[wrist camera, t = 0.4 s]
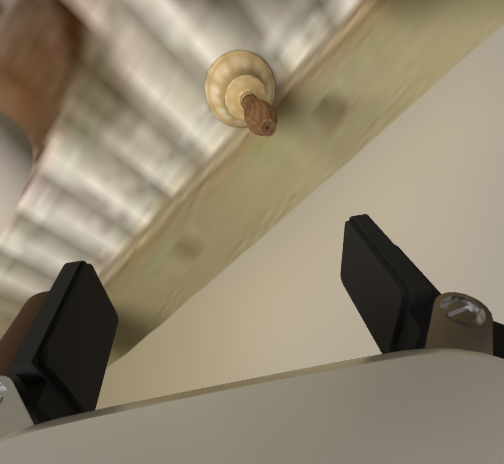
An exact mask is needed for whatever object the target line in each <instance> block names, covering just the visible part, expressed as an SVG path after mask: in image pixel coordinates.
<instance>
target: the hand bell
mask: <svg viewBox="0 0 504 464" xmlns="http://www.w3.org/2000/svg"><path fill="white" fill-rule="evenodd" d="M274 95H275V82H274V77H273V74H272V72H271V69H270V68H269V66H268V65H267V63H266V62H265V61H264V60H263V59H262V58H261V57H259V56H258V55H256V54H255V53H252V52H250V51H245V50H234V51H230V52H227V53H225V54H223V55H222V56H220V57H219V58H218V59H217V60H216V61H215V62H214V63H213V64H212V66H211V67H210V69H209V71H208V73H207V76H206V80H205V98H206V101H207V104H208V106H209V108H210V110H211V112H212V113H213V114H214V116H215V117H216V118H218V119H219V120H220V121H221V122H223V123H225V124H227V125H229V126H233V127H247V126H248V128H249V129H250V130H251V131H252V132H253V133H255V134H257V135H261V136H271V135H273V134H274V132H275V130H276V124H277V115H276V112H275V110H274V108H273V107H272V106H271V105H272V103H273V100H274Z"/></svg>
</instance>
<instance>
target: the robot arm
mask: <svg viewBox="0 0 504 464" xmlns="http://www.w3.org/2000/svg"><path fill="white" fill-rule="evenodd" d="M341 280H342V283H343V285H344V287H345V289H346V290H347V292H348V294H349V296H350V297H351V299H352V301H353V303H354V304H355V306H356V308H357V310H358V312H359V313H360V315H361V317H362V319H363V320H364V322H365V324H366V326H367V328H368V329H369V331H370V333H371V335H372V336H373V338H374V340H375V342H376V343H377V345H378V347H379V349H380V351H381V352H382V354H380V355H375V356H368V357H363V358H357V359H351V360H346V361H341V362H335V363H330V364H325V365H320V366H314V367H310V368H304V369H299V370H293V371H289V372H284V373H278V374H273V375H268V376H263V377H258V378H252V379H247V380H242V381H237V382H232V383H227V384H222V385H217V386H212V387H207V388H201V389H197V390H191V391H187V392H182V393H176V394H172V395H167V396H162V397H157V398H152V399H147V400H143V401H137V402H132V403H127V404H122V405H117V406H112V407H108V408H103V409H98V410H95V408H96V405H97V401H98V397H99V393H100V389H101V386H102V382H103V378H104V374H105V370H106V367H107V363H108V359H109V355H110V351H111V347H112V344H113V340H114V336H115V332H116V328H117V325H118V316H117V313H116V311H115V309H114V307H113V305H112V303H111V301H110V299H109V297H108V295H107V293H106V291H105V290H104V288H103V286H102V284H101V282H100V280H99V278H98V276H97V274H96V272H95V270H94V268H93V266H92V265H91V264H87V263H86V262H85V261H77V262H71V263H66V264H65V265H64V266H63V268H62V270H61V271H60V273H59V275H58V277H57V279H56V280H55V282H54V284H53V286H52V288H51V290H50V291H49V293H48V295H47V297H46V299H45V301H44V302H43V304H42V306H41V308H40V310H39V311H38V313H37V315H36V317H35V319H34V321H33V322H32V324H31V326H30V328H29V330H28V332H27V333H26V335H25V337H24V339H23V341H22V342H21V344H20V346H19V348H18V350H17V352H16V353H15V355H14V357H13V359H12V361H11V362H10V364H9V366H8V367H9V368H8V370H7V372H6V374H5V376H0V464H504V325H503V324H500V323H497V322H494V321H493V318H492V314H491V312H490V311H489V309H488V308H487V307H486V306H485V305H484V304H483V303H482V302H480V301H478V300H477V299H475V298H473V297H471V296H468V295H466V294H462V293H456V292H448V293H444V294H441V293H440V292H439V291H438V290H437V289H436V288H435V287H434V286H433V285H432V283H431V282H430V281H429V280H428V279H427V278H426V277H425V276H424V275H423V273H422V272H421V271H420V270H419V269H418V268H417V267H416V266H415V265H414V264H413V262H412V261H411V260H409V258H408V257H407V256H406V255H405V254H404V253H403V251H402V250H401V249H400V248H399V247H398V246H396V245H394V244H393V243H392V242H391V240H390V239H389V238H388V237H387V236H386V235H385V234H384V233H383V231H382V230H381V229H380V228H379V227H378V226H377V225H376V224H375V223H374V221H373V220H372V219H371V218H370V217H369V216H368V215H367V214H363V215H357V216H352V217H350V219H349V221H346V223H345V230H344V241H343V253H342V264H341Z"/></svg>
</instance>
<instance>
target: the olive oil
mask: <svg viewBox="0 0 504 464" xmlns="http://www.w3.org/2000/svg"><path fill="white" fill-rule="evenodd" d="M48 293H49V292H42V293H39V294H36V295H34V296H32V297H31V298H30V299H29V300H28V301H27V302H26V303H25V305H24V306H23V308H22V309H21V311H20V312H19V314H18V315H17V317H16V318H15V320H14V321H13V323H12V324H11V326H10V327H9V329H8V330H7V331H6V333H5V334H4V336H3V337H2V339H1V340H0V376H5V374H6V372H7V370H8V368H9V367H8V366H9V364H10V362H11V361H12V359H13V357H14V355H15V353H16V352H17V350H18V348H19V346H20V344H21V342H22V341H23V339H24V337H25V335H26V333H27V332H28V330H29V328H30V326H31V324H32V322H33V321H34V319H35V317H36V315H37V313H38V311H39V310H40V308H41V306H42V304H43V302H44V301H45V299H46V297H47V295H48Z"/></svg>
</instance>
